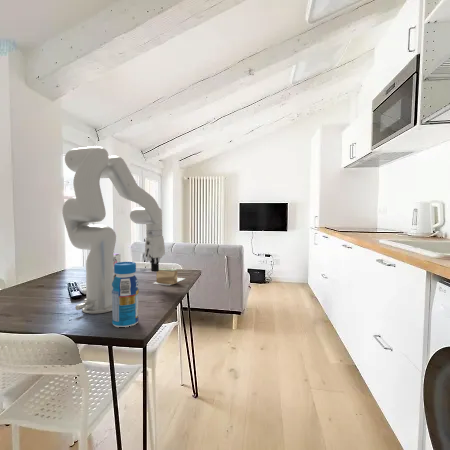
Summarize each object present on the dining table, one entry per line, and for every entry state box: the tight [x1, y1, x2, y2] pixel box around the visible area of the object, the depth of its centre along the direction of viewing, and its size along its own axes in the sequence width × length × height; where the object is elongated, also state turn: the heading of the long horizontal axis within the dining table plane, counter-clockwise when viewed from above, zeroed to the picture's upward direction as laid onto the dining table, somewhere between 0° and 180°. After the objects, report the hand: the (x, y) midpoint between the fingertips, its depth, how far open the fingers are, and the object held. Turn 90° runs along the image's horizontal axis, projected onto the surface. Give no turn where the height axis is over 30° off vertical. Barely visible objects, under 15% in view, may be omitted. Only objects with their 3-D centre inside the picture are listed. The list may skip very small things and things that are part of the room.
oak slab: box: [156, 267, 178, 285], centre depth 151 cm, size 4×10×7 cm, turn 67°
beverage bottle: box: [111, 261, 140, 328], centre depth 96 cm, size 8×8×20 cm
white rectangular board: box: [152, 277, 186, 286], centre depth 156 cm, size 16×10×1 cm, turn 158°
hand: (155, 271), depth 142 cm, fingers closed
